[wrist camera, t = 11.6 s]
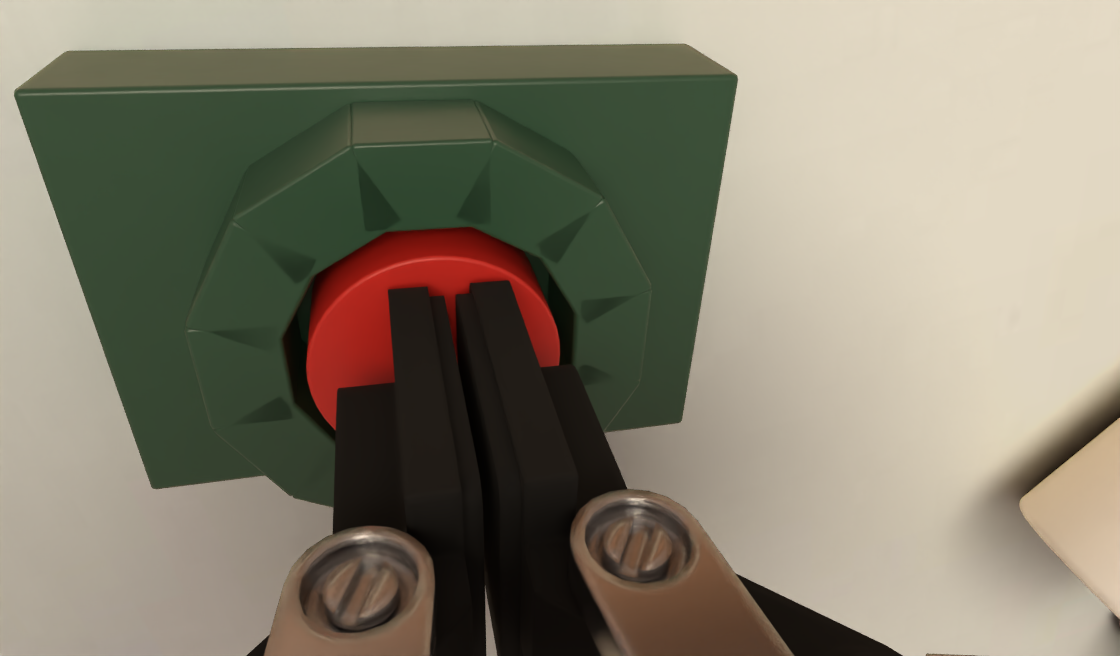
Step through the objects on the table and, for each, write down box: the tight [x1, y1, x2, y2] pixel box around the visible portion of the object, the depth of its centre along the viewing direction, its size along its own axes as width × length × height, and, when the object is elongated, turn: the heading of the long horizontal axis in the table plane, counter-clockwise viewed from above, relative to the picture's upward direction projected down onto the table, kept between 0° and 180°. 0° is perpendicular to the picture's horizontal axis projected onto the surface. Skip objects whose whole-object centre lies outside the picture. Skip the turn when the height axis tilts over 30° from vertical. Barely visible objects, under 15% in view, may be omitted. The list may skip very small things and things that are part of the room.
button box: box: [14, 44, 738, 508], centre depth 13 cm, size 10×7×4 cm
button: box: [306, 227, 560, 430], centre depth 11 cm, size 4×4×2 cm
